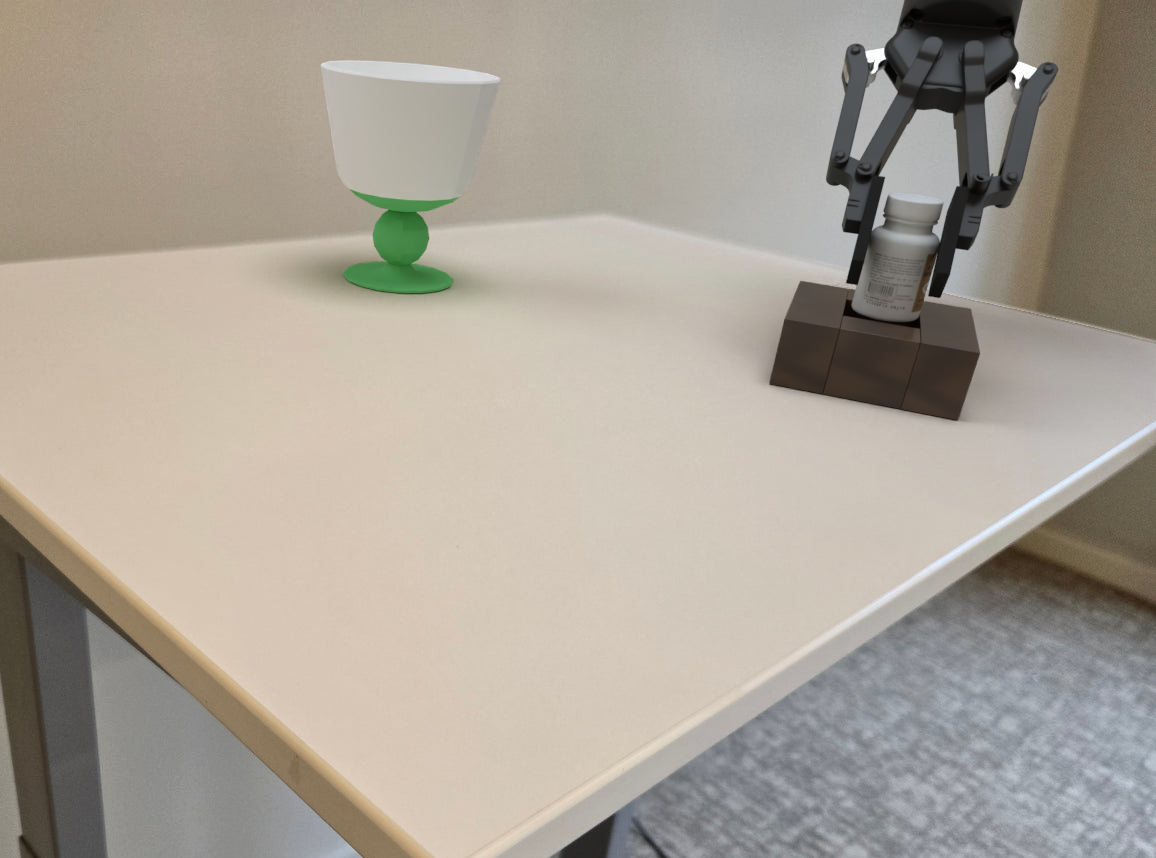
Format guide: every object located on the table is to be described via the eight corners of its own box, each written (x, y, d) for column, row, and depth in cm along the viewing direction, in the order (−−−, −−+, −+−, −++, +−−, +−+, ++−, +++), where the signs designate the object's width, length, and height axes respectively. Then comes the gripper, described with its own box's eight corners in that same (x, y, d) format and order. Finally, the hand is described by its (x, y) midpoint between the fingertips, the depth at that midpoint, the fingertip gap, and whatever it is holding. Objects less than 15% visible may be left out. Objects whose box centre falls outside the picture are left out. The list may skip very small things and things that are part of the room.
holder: (952, 369, 79) (971, 308, 77) (958, 420, 69) (980, 352, 67) (785, 338, 82) (800, 280, 80) (768, 384, 72) (784, 318, 70)
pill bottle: (928, 326, 71) (964, 206, 68) (864, 321, 71) (896, 201, 68) (902, 307, 75) (935, 193, 72) (841, 303, 75) (870, 188, 72)
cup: (393, 250, 97) (405, 59, 90) (514, 285, 90) (537, 80, 82) (279, 271, 88) (282, 60, 80) (403, 312, 80) (419, 83, 73)
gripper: (1084, 46, 76) (1027, 333, 70) (827, 23, 81) (754, 288, 75) (1124, -43, 69) (1066, 267, 63) (841, -62, 74) (761, 223, 68)
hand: (896, 278), depth 69 cm, fingers closed on pill bottle, 4 cm apart
